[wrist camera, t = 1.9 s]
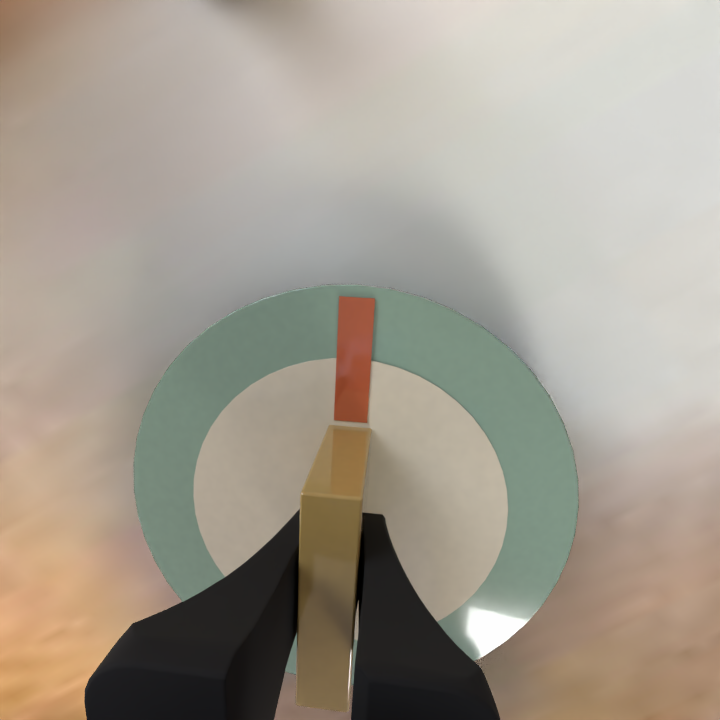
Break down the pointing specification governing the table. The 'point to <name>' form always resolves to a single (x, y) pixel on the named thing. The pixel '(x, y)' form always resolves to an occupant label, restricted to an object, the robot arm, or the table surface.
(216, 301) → the table surface
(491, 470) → the dial knob
